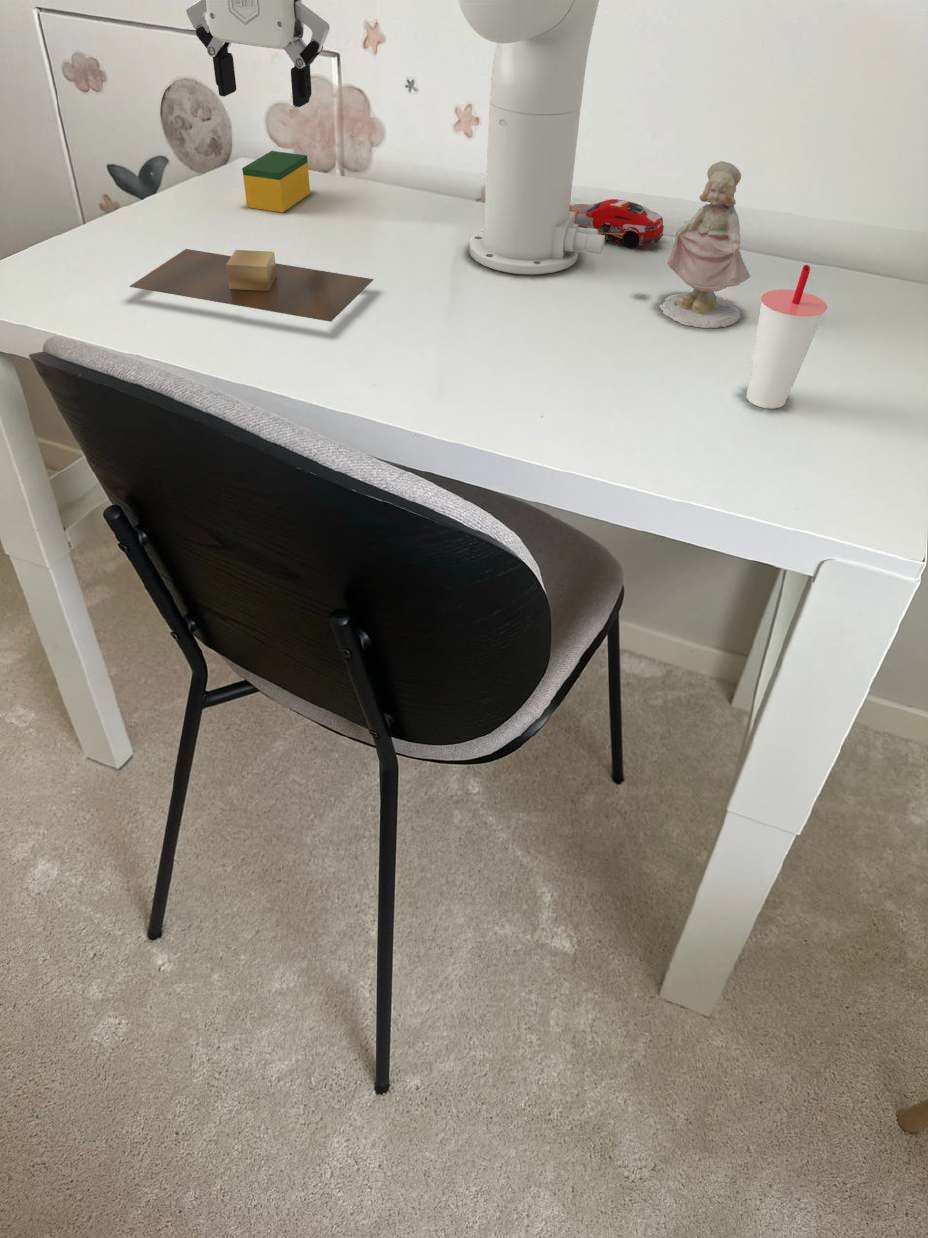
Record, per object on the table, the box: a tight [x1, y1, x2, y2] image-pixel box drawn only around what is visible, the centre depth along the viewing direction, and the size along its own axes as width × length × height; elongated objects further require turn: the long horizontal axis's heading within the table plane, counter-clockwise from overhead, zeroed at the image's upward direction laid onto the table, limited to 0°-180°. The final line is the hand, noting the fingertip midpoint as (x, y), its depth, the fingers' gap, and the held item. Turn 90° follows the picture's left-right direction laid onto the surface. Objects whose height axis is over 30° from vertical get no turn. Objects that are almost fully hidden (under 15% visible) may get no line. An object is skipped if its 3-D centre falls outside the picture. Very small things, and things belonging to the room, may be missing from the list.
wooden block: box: [226, 249, 277, 291], centre depth 90 cm, size 4×4×2 cm
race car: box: [569, 198, 665, 249], centre depth 107 cm, size 13×5×4 cm, turn 65°
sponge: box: [241, 150, 311, 213], centre depth 113 cm, size 5×8×5 cm, turn 163°
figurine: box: [638, 160, 751, 329], centre depth 90 cm, size 11×10×15 cm
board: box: [129, 248, 374, 322], centre depth 92 cm, size 22×11×2 cm, turn 73°
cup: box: [746, 264, 828, 409], centre depth 76 cm, size 5×5×12 cm
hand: (264, 98), depth 107 cm, fingers open, 9 cm apart
